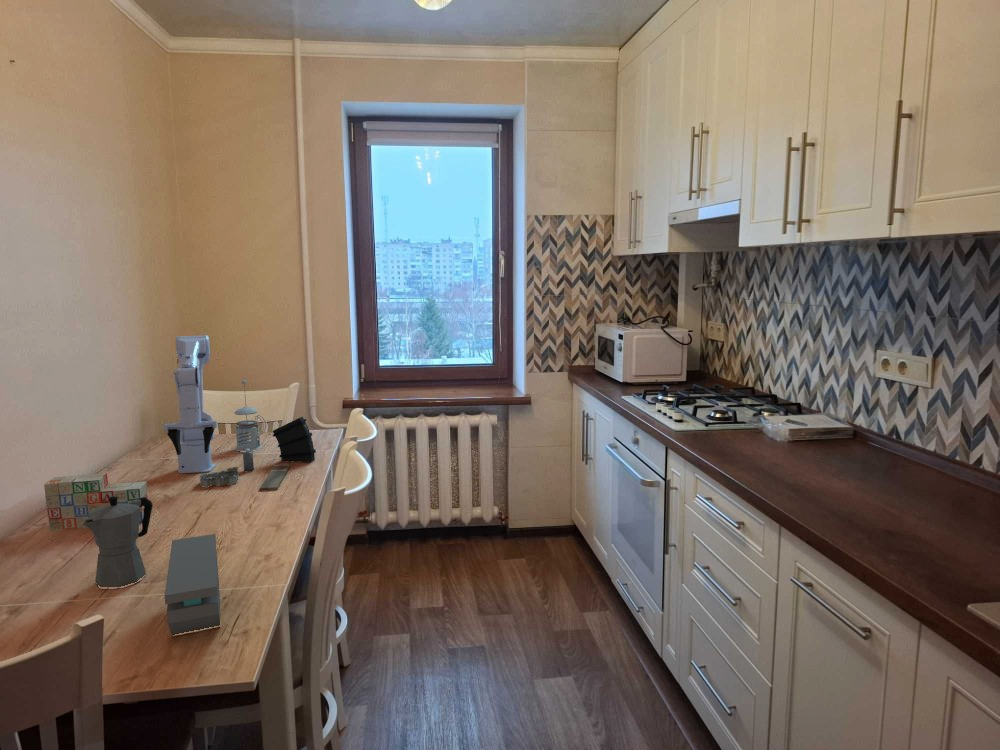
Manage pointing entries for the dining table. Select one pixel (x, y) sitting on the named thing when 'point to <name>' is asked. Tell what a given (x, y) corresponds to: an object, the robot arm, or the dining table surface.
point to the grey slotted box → (193, 585)
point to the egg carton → (220, 477)
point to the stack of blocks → (85, 498)
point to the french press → (248, 429)
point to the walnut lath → (275, 477)
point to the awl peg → (248, 460)
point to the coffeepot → (119, 541)
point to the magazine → (295, 441)
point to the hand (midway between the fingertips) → (193, 453)
